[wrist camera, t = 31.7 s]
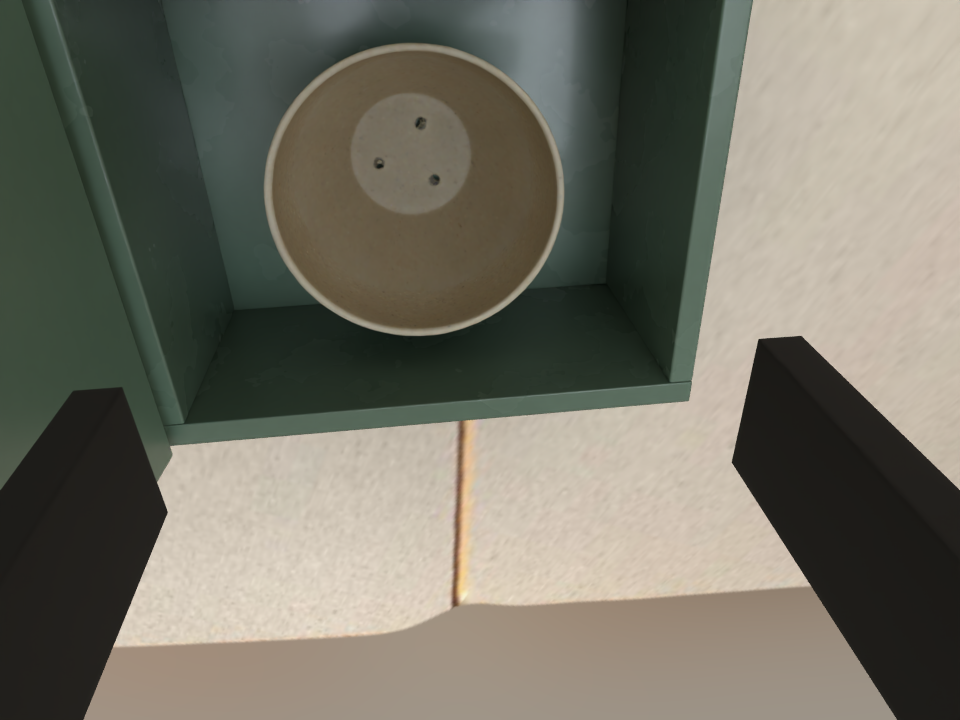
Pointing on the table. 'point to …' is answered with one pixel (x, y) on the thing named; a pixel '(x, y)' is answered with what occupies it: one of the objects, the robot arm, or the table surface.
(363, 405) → the green storage box
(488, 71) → the beige plant pot
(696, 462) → the table surface
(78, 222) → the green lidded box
